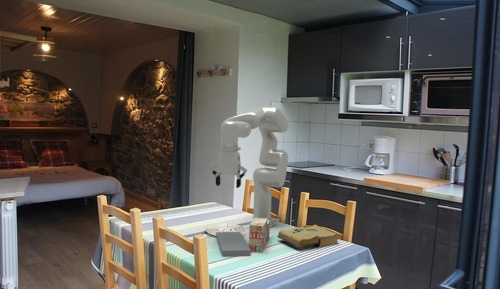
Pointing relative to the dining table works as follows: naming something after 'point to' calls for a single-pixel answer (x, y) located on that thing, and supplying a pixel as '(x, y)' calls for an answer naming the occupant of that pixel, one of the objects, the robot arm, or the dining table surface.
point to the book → (308, 237)
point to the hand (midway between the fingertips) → (228, 186)
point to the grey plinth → (232, 244)
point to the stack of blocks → (259, 234)
